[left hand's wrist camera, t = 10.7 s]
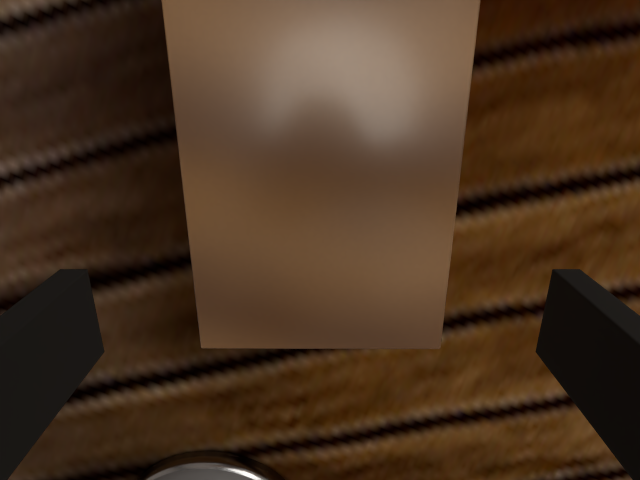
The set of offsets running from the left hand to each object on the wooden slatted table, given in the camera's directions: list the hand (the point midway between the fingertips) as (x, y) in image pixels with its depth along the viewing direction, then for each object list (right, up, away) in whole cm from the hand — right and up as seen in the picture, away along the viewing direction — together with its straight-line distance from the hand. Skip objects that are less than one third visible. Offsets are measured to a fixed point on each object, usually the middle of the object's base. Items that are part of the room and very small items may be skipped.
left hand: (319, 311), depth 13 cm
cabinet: (0, +10, +14) cm, 17 cm away
